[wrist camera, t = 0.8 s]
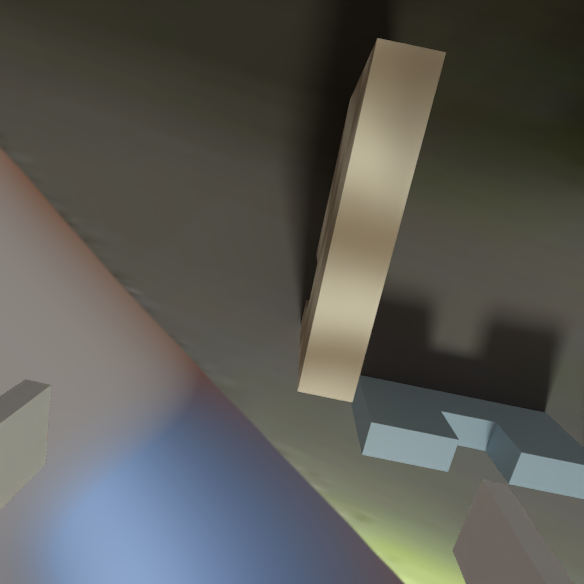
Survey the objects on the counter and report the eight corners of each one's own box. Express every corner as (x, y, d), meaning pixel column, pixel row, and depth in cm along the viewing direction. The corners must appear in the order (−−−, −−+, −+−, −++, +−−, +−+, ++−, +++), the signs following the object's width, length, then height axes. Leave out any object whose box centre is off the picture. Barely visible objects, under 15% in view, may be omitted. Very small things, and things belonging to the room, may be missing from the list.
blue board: (350, 401, 33) (362, 454, 26) (357, 374, 32) (371, 422, 25) (534, 438, 33) (593, 501, 26) (545, 412, 32) (608, 469, 26)
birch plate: (349, 99, 27) (377, 37, 17) (391, 108, 27) (446, 52, 17) (300, 324, 31) (297, 391, 21) (337, 332, 31) (352, 402, 21)
